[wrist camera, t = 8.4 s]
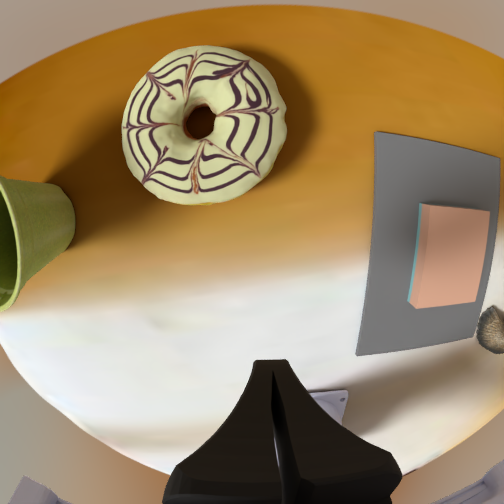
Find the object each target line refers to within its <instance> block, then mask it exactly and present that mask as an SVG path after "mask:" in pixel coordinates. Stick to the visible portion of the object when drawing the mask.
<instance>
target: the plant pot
mask: <svg viewBox="0 0 504 504" xmlns="http://www.w3.org/2000/svg"><path fill="white" fill-rule="evenodd" d="M74 232H75V213H74V209H73V205H72V203H71V200H70V199H69V198H68V197H67V196H66V194H65V193H64V192H63V191H62V189H61V188H60V187H59V186H57V185H54V184H48V183H38V182H30V181H22V180H13V179H6V178H5V177H2V176H0V312H3V311H5V310H7V309H8V308H9V307H11V306H12V305H13V304H14V302H15V301H16V299H17V297H18V295H19V293H20V290H21V289H22V288H23V286H24V285H25V283H26V281H28V280H29V279H30V278H31V277H32V276H33V275H35V274H36V273H37V272H38V271H39V270H41V269H42V268H43V267H44V266H46V265H47V264H48V263H49V262H51V261H52V260H53V259H54V258H56V257H57V256H58V255H60V254H61V253H62V252H64V251H65V250H66V248H67V247H68V245H69V244H70V242H71V240H72V239H73V236H74Z"/></svg>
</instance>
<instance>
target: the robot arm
mask: <svg viewBox="0 0 504 504" xmlns="http://www.w3.org/2000/svg"><path fill="white" fill-rule="evenodd" d="M348 396H349V394H348V391H347V390H339V391H329V392H317V393H308V391H307V390H306V389H305V387H304V386H303V385H302V383H301V382H300V381H299V379H298V378H297V376H296V375H295V373H294V371H293V370H292V368H291V366H290V364H289V362H288V361H287V360H286V359H281V360H256V361H254V362H253V369H252V372H251V375H250V378H249V381H248V383H247V385H246V387H245V390H244V392H243V394H242V395H241V397H240V399H239V401H238V402H237V404H236V406H235V408H234V409H233V411H232V412H231V413H230V415H229V416H228V418H227V419H226V420H225V422H224V423H223V424H222V425H221V426H220V428H219V429H218V430H217V431H216V432H215V433H214V434H213V435H212V436H211V438H209V439H208V440H207V441H206V442H205V443H204V444H203V445H202V446H201V447H200V448H199V449H198V450H196V451H195V452H194V453H193V454H191V455H190V456H189V457H187V458H186V459H184V460H183V461H182V462H180V463H179V464H177V465H176V467H175V468H174V470H173V472H172V474H171V476H170V478H169V480H168V482H167V485H166V488H165V491H164V496H163V500H162V503H163V504H392V501H391V498H390V495H391V494H392V492H393V491H394V490H395V488H396V487H397V486H398V485H399V483H400V481H401V479H402V473H401V470H400V468H399V466H398V464H397V462H396V460H395V459H394V457H393V456H392V454H391V453H390V452H388V451H386V450H384V449H381V448H379V447H377V446H375V445H372V444H370V443H368V442H367V441H365V440H363V439H361V438H359V437H358V436H356V435H355V434H353V433H352V432H350V431H349V430H347V429H346V428H345V427H343V425H342V418H343V414H344V411H345V407H346V403H347V399H348ZM342 398H343V399H342ZM8 504H72V503H70V502H67V501H65V500H63V499H60V498H58V496H57V495H56V494H55V493H54V492H53V491H52V490H51V489H50V488H48V487H47V486H45V485H43V484H41V483H39V482H37V481H35V480H33V479H31V478H30V477H28V476H25V475H24V476H23V477H22V479H21V481H20V483H19V485H18V486H17V488H16V490H15V492H14V493H13V495H12V497H11V499H10V501H9V503H8ZM431 504H504V460H502V461H501V462H499V463H497V464H496V465H495V466H493V467H492V468H491V469H490V470H489V471H488V472H487V473H486V474H485V475H484V476H483V478H482V479H480V480H478V481H476V482H475V483H473V484H471V485H469V486H467V487H465V488H463V489H461V490H459V491H457V492H455V493H453V494H451V495H449V496H447V497H445V498H442V499H440V500H438V501H435V502H433V503H431Z"/></svg>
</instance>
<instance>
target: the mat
mask: <svg viewBox="0 0 504 504" xmlns="http://www.w3.org/2000/svg"><path fill="white" fill-rule="evenodd" d="M374 145H375V175H374V207H373V224H372V238H371V250H370V260H369V270H368V278H367V286H366V294H365V301H364V308H363V314H362V321H361V327H360V332H359V338H358V343H357V349H356V356H363V355H372V354H381V353H388V352H395V351H402V350H409V349H415V348H421V347H427V346H433V345H438V344H443V343H448V342H453V341H458V340H462V339H467V338H471V337H473V336H474V333H475V329H476V326H477V323H478V319H479V316H480V312H481V309H482V305H483V301H484V297H485V293H486V289H487V284H488V280H489V275H490V270H491V265H492V259H493V253H494V246H495V239H496V232H497V223H498V212H499V197H500V158H497V157H493V156H490V155H487V154H483V153H480V152H476V151H472V150H468V149H464V148H460V147H456V146H452V145H448V144H443V143H439V142H434V141H429V140H424V139H419V138H413V137H408V136H402V135H395V134H389V133H382V132H374ZM419 203H425V204H436V205H447V206H457V207H466V208H475V209H481V210H485V211H490V218H489V228H488V236H487V244H486V250H485V257H484V263H483V268H482V273H481V278H480V283H479V288H478V292H477V296H476V300H475V302H469V303H461V304H454V305H446V306H437V307H428V308H419V309H416V308H415V307H414V306H413V305H411V304H410V303H409V302H408V301H407V300H408V294H409V289H410V283H411V277H412V270H413V263H414V256H415V248H416V239H417V229H418V217H419Z"/></svg>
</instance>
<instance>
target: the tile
mask: <svg viewBox="0 0 504 504" xmlns="http://www.w3.org/2000/svg"><path fill="white" fill-rule="evenodd" d="M489 218H490V211H485V210H481V209H475V208H466V207H457V206H447V205H436V204H425V203H419V217H418V229H417V239H416V248H415V256H414V263H413V270H412V277H411V283H410V289H409V294H408V300H407V301H408V302H409V303H410V304H411V305H413V306H414V307H415V308H416V309H419V308H428V307H437V306H446V305H454V304H461V303H469V302H475V300H476V296H477V292H478V288H479V283H480V278H481V273H482V268H483V263H484V257H485V250H486V244H487V236H488V228H489Z"/></svg>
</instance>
